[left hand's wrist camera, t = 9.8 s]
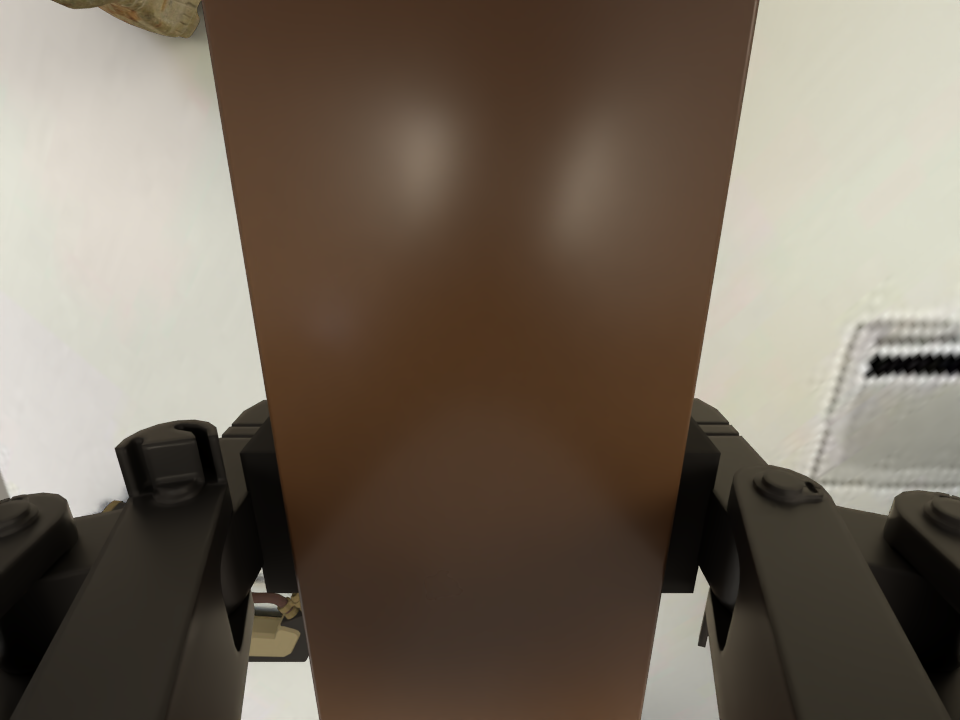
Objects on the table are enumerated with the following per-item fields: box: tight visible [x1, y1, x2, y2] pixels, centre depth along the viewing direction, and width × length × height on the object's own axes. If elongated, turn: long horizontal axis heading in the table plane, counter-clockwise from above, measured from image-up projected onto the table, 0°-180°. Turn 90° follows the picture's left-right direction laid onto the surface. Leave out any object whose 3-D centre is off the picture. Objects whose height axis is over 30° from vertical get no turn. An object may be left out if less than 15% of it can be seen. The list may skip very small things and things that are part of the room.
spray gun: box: [102, 500, 309, 662], centre depth 37 cm, size 4×17×15 cm
